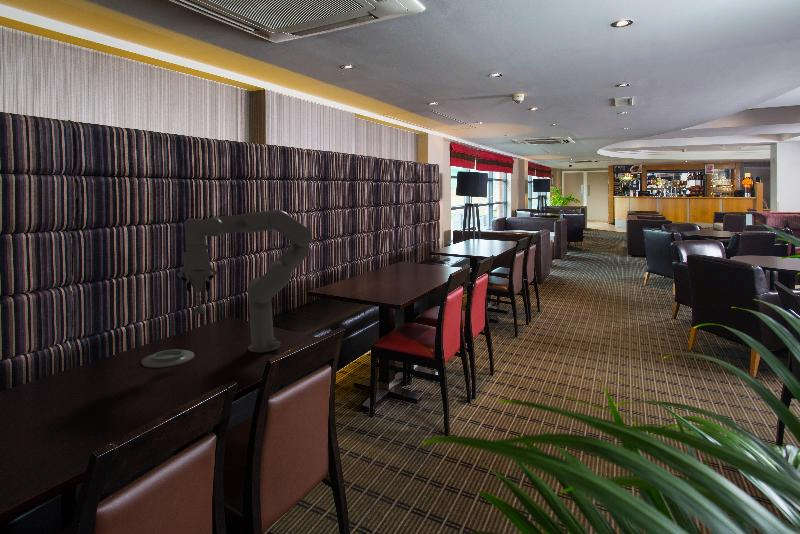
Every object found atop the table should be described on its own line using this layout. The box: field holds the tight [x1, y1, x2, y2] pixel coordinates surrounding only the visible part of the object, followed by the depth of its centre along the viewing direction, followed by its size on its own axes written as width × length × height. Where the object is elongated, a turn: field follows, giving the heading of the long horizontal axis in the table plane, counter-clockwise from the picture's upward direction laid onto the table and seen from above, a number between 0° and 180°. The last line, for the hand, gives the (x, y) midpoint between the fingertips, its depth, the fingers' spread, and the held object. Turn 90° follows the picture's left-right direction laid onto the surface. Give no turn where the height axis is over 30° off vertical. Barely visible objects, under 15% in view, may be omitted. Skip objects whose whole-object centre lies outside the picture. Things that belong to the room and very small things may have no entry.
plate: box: [141, 348, 195, 369], centre depth 211 cm, size 20×20×2 cm
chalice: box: [190, 271, 207, 315], centre depth 210 cm, size 7×7×18 cm
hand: (198, 291), depth 210 cm, fingers closed on chalice, 6 cm apart
